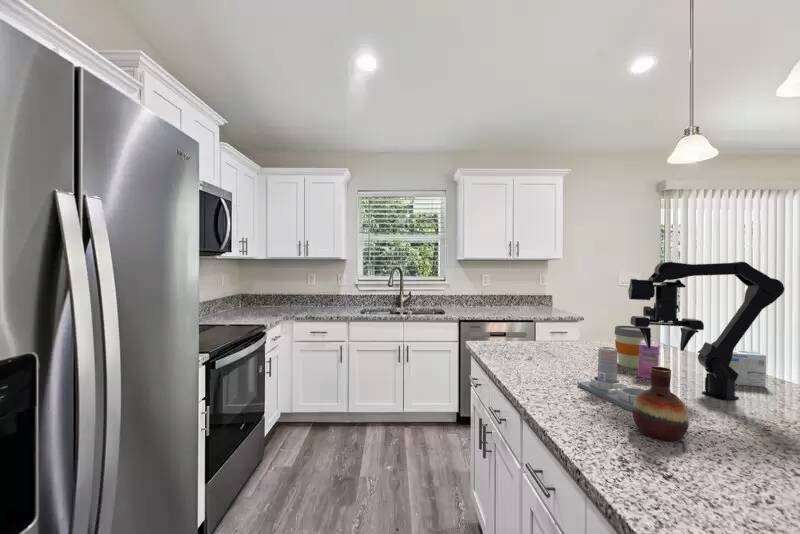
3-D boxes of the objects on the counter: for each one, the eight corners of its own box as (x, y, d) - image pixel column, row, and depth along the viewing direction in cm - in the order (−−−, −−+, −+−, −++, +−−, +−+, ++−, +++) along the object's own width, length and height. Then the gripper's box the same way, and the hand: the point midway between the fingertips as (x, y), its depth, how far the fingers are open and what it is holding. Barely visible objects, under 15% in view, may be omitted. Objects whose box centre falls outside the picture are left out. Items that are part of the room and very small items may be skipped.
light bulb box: (754, 381, 133) (754, 350, 133) (766, 387, 127) (767, 355, 127) (717, 378, 136) (718, 348, 136) (728, 384, 130) (729, 352, 130)
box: (657, 380, 133) (657, 346, 133) (637, 377, 137) (638, 344, 137) (659, 373, 141) (659, 341, 141) (640, 370, 145) (641, 339, 145)
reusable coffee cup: (606, 363, 156) (607, 326, 156) (627, 360, 161) (627, 324, 161) (637, 371, 144) (637, 331, 144) (657, 367, 150) (658, 329, 150)
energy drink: (612, 383, 124) (612, 347, 124) (619, 389, 119) (620, 350, 119) (594, 383, 124) (595, 346, 124) (601, 388, 119) (602, 350, 119)
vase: (635, 420, 98) (636, 360, 98) (689, 432, 91) (691, 368, 91) (628, 434, 89) (629, 368, 89) (687, 449, 82) (689, 378, 82)
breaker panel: (671, 408, 106) (671, 397, 106) (631, 411, 104) (631, 399, 104) (612, 384, 128) (612, 374, 128) (577, 385, 125) (578, 376, 125)
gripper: (688, 300, 128) (687, 346, 128) (626, 297, 133) (625, 342, 133) (705, 303, 117) (704, 354, 117) (636, 300, 122) (635, 349, 122)
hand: (665, 349), depth 122 cm, fingers open, 9 cm apart
